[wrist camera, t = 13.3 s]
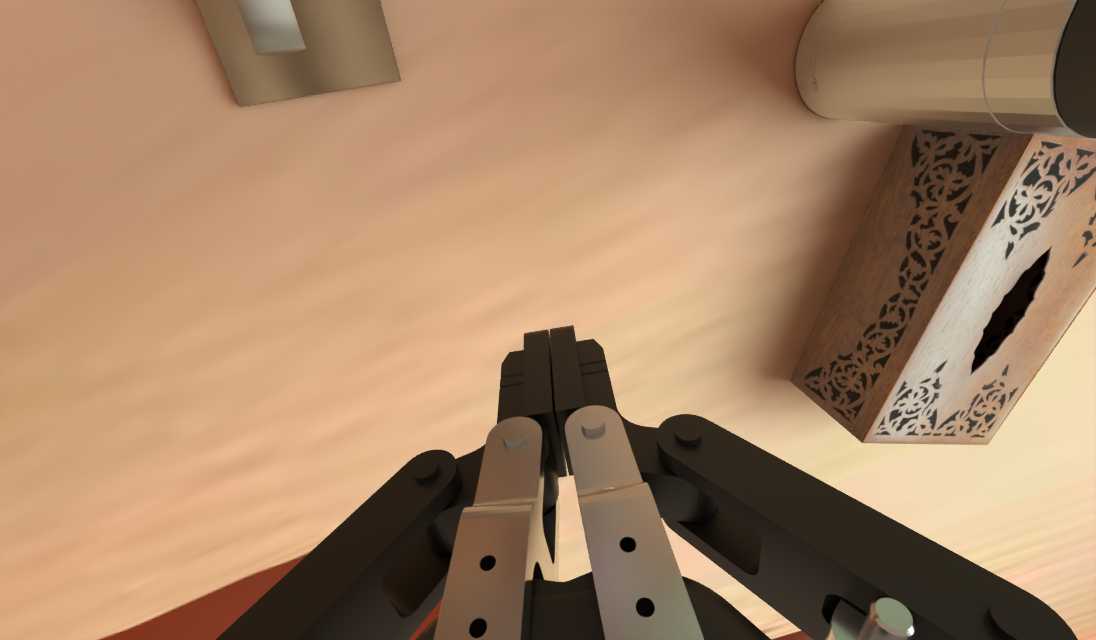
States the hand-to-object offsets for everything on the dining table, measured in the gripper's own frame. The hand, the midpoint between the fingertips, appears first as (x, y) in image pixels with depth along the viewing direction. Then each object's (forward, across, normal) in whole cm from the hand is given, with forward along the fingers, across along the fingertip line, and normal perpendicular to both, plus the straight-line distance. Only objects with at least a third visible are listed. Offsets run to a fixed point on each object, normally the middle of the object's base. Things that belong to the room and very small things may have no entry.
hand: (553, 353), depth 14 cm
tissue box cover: (+29, -33, +18) cm, 47 cm away
